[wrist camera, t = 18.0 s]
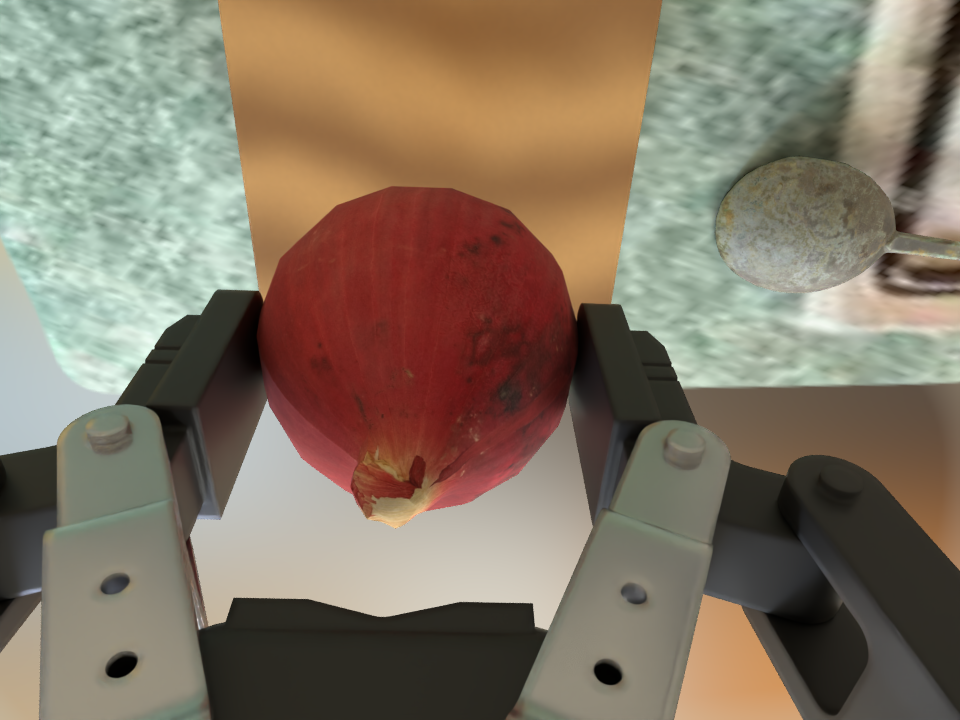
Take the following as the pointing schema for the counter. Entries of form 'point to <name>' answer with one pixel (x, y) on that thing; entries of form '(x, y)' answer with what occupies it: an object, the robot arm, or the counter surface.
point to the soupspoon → (812, 226)
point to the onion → (417, 348)
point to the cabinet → (443, 114)
